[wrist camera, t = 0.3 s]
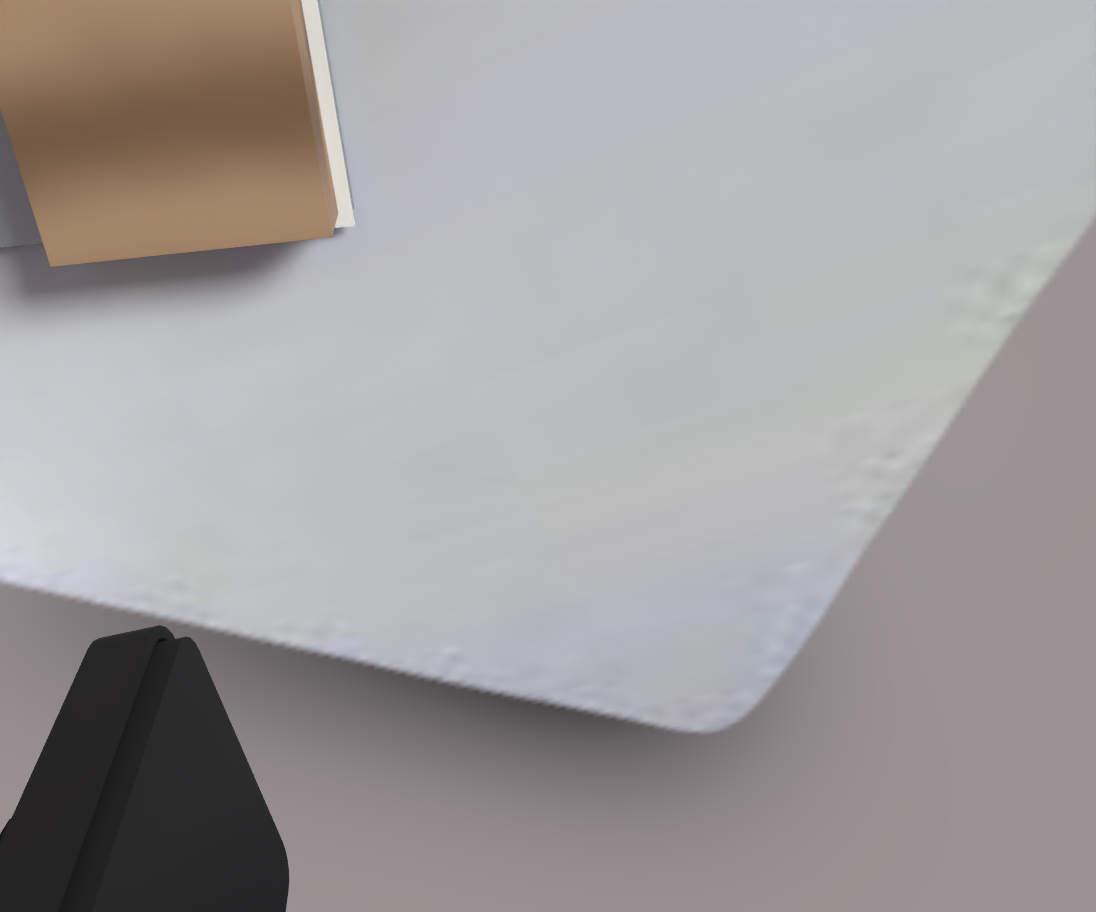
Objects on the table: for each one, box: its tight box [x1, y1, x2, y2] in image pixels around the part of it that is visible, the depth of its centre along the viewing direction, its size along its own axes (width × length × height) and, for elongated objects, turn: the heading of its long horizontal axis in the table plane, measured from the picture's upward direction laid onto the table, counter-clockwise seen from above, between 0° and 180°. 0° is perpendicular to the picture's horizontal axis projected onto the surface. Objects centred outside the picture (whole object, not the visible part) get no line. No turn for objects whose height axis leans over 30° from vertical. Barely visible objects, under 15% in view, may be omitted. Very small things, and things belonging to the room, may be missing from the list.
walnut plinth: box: [0, 0, 338, 267], centre depth 32 cm, size 9×9×3 cm
